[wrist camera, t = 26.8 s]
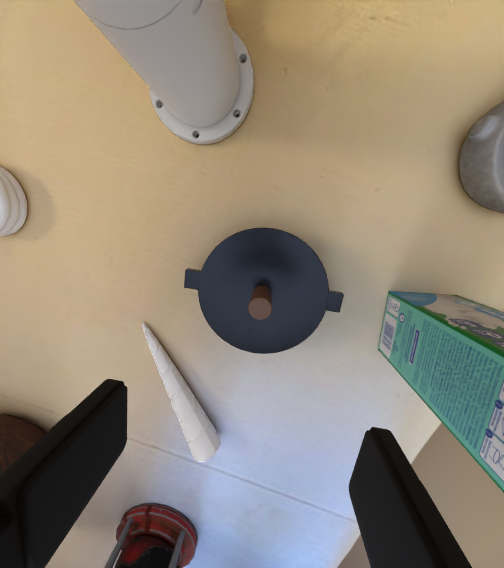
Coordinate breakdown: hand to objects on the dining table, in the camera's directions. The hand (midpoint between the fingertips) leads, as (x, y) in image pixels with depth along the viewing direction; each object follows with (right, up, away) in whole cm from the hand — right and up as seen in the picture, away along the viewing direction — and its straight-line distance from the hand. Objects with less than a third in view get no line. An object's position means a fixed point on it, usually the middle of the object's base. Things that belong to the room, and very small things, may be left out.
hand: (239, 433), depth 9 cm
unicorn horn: (-11, -11, +30) cm, 34 cm away
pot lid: (+2, +5, +20) cm, 20 cm away
